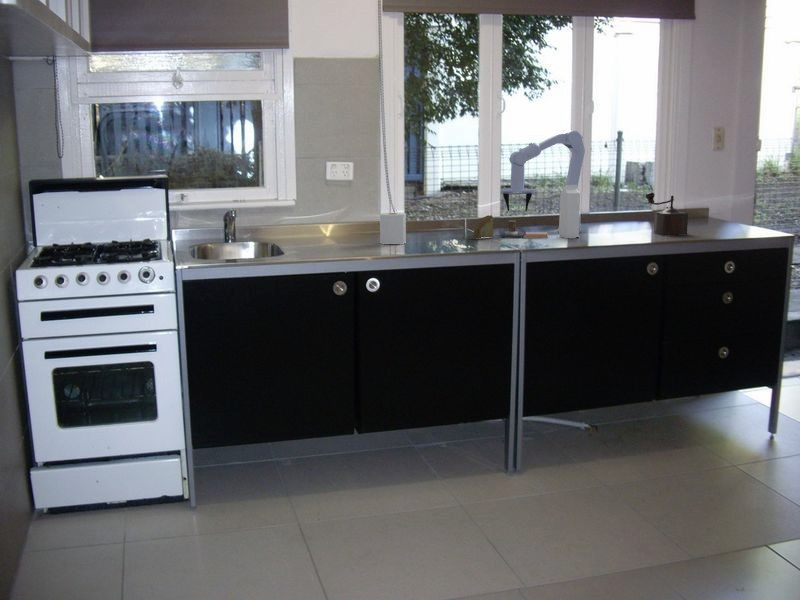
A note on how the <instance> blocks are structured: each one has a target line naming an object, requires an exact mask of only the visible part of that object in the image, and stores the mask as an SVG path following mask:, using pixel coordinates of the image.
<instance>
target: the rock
mask: <svg viewBox="0 0 800 600" xmlns="http://www.w3.org/2000/svg"><path fill="white" fill-rule="evenodd" d="M493 226H494V218H493V215H492V214H491V215H489V214H488V215H486V216H484V217H482V218H480V219H479V222H478V224H477V226H476V227H475V228H474V230H473V234H472V237H471V239H472V240H477V239H476V238H481V237H493V238H494V230H493V229H494V228H493Z"/></svg>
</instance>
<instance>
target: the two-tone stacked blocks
mask: <svg viewBox="0 0 800 600" xmlns="http://www.w3.org/2000/svg"><path fill="white" fill-rule="evenodd" d="M516 225H517V220H508V227H507V228H508V230H507V231H505V232H506V233H505V235H518V232H519V231H517V229H516V227H517V226H516Z"/></svg>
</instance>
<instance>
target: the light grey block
mask: <svg viewBox="0 0 800 600" xmlns="http://www.w3.org/2000/svg"><path fill="white" fill-rule="evenodd" d="M406 215H407V214H406V213H404V212H383V213H380V214H379V240H380V241H379V244H381V243H382V244H381V245H384V244H400V245H405V244H406V243H407V223H406V221H407V219H406V218H407V217H406ZM404 243H405V244H404Z"/></svg>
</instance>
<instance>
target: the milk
mask: <svg viewBox="0 0 800 600" xmlns="http://www.w3.org/2000/svg"><path fill="white" fill-rule="evenodd" d="M559 196H560V197H559V198H560V208H559V216H560V227H559V226H558V229H559V232H558V236H560V237H559V238H562V237H564V238H563V239H566V238H569V239H577V238H576V237H580V232H579V214H580V212H581V210H580V209H581V207H580V205H581V204H580V203H581V192H580V191H579V190H578V187H577V185H566V184H565V185H564V186H563V189H562V190H561V191H560V195H559Z"/></svg>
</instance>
